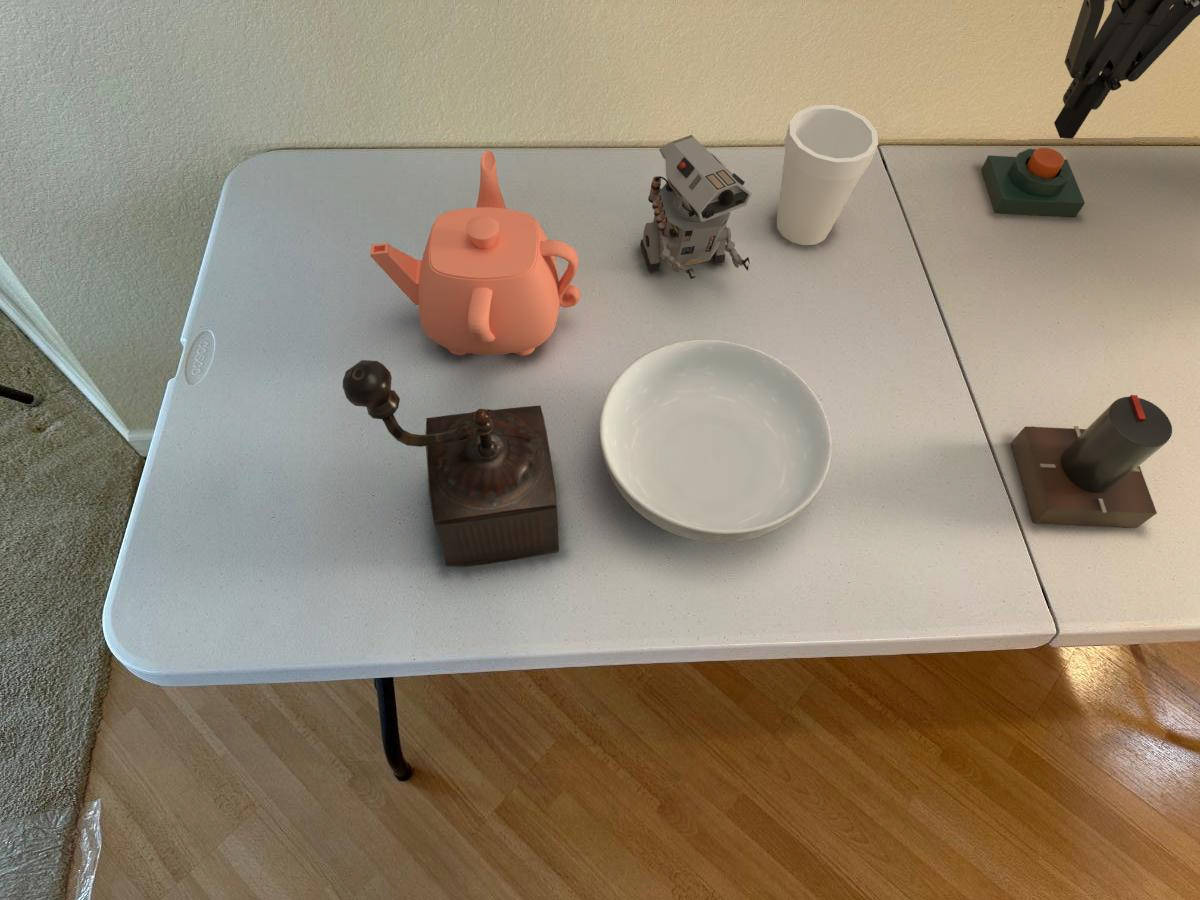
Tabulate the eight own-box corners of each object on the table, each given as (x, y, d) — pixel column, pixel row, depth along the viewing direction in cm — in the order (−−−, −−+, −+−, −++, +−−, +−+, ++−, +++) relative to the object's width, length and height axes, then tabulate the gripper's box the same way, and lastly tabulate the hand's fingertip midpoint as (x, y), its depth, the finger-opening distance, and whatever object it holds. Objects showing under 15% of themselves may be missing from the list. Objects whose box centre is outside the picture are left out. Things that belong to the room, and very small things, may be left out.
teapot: (384, 323, 86) (357, 226, 75) (496, 240, 93) (486, 140, 82) (492, 406, 81) (481, 316, 70) (601, 312, 88) (607, 216, 77)
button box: (1058, 173, 103) (1075, 147, 100) (1075, 217, 99) (1093, 191, 95) (980, 169, 103) (994, 142, 99) (994, 213, 99) (1009, 186, 95)
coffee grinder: (544, 450, 78) (540, 330, 63) (561, 554, 73) (560, 449, 58) (382, 471, 77) (337, 352, 61) (386, 579, 71) (337, 478, 56)
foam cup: (747, 224, 96) (771, 130, 85) (794, 188, 100) (823, 93, 89) (811, 267, 93) (844, 174, 82) (857, 228, 96) (895, 135, 85)
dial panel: (1108, 445, 81) (1127, 428, 79) (1138, 529, 76) (1159, 514, 74) (1010, 440, 81) (1025, 423, 78) (1033, 525, 76) (1050, 509, 73)
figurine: (661, 313, 88) (677, 206, 75) (636, 239, 94) (648, 128, 81) (740, 302, 90) (769, 195, 77) (711, 229, 95) (734, 119, 83)
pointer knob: (1125, 494, 75) (1183, 446, 68) (1069, 490, 75) (1121, 442, 68) (1109, 446, 77) (1163, 396, 70) (1055, 443, 77) (1104, 392, 70)
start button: (1052, 160, 99) (1059, 148, 97) (1060, 180, 97) (1068, 168, 95) (1023, 158, 99) (1030, 146, 97) (1030, 178, 97) (1037, 166, 95)
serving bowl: (690, 347, 86) (699, 303, 80) (854, 466, 79) (877, 427, 73) (551, 467, 77) (550, 428, 72) (721, 612, 70) (735, 582, 65)
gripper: (1256, -109, 75) (1109, 113, 95) (1118, -118, 75) (1000, 107, 95) (1289, -67, 71) (1128, 155, 91) (1144, -77, 71) (1015, 148, 91)
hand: (1063, 130), depth 93 cm, fingers closed
